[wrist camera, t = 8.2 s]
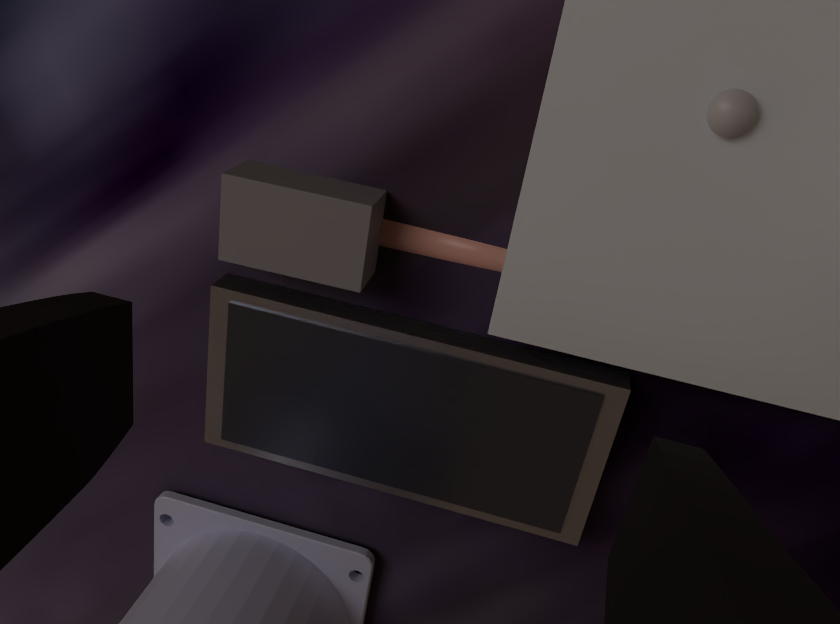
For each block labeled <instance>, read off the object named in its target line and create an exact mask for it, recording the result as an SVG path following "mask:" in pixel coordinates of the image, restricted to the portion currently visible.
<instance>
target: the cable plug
mask: <svg viewBox="0 0 840 624" xmlns="http://www.w3.org/2000/svg"><path fill="white" fill-rule="evenodd" d="M386 194H387V190H382V189H378V188H373V187H369V186H364V185H360V184H355V183H351V182H346V181H342V180H337V179H333V178H328V177H324V176H319V175H315V174H310V173H306V172H301V171H297V170H292V169H288V168H283V167H279V166H274V165H270V164H265V163H261V162H256V161H252V160H248V161H246V162H244V163H242V164H240V165H238V166H236V167H234V168H232V169H229V170H227V171H225V172H223V173H222V183H221V206H220V230H219V253H218V260H222V261H226V262H230V263H235V264H239V265H243V266H248V267H252V268H256V269H260V270H265V271H269V272H273V273H278V274H282V275H286V276H290V277H295V278H299V279H303V280H308V281H312V282H316V283H320V284H325V285H329V286H333V287H338V288H342V289H346V290H350V291H355V292H359V293H360V292H361V291H362V289H363V288H364V287H365V285H366V284H367V282H368V281H369V280H370V278H371V277H372V275H373V274H374V273H375V269H376V263H377V256H378V249H379V246H383V247H387V248H392V249H397V250H401V251H406V252H411V253H415V254H420V255H425V256H429V257H434V258H438V259H443V260H448V261H452V262H457V263H462V264H466V265H471V266H476V267H481V268H485V269H490V270H495V271H500V272H502V270H503V266H504V262H505V257H506V253H507V249H504V248H500V247H496V246H492V245H488V244H484V243H480V242H476V241H472V240H468V239H464V238H460V237H456V236H452V235H448V234H444V233H439V232H435V231H431V230H427V229H423V228H419V227H415V226H411V225H407V224H403V223H399V222H395V221H391V220H387V219H383V215H384V208H385V201H386Z"/></svg>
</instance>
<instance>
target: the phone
mask: <svg viewBox="0 0 840 624" xmlns="http://www.w3.org/2000/svg"><path fill="white" fill-rule="evenodd" d="M630 391H631V387H630V378H629V373H628V372H624V371H620V370H616V369H612V368H608V367H604V366H600V365H596V364H592V363H588V362H584V361H580V360H575V359H571V358H567V357H563V356H559V355H555V354H551V353H547V352H543V351H539V350H535V349H531V348H527V347H523V346H519V345H515V344H511V343H507V342H503V341H499V340H495V339H490V338H486V337H482V336H478V335H474V334H470V333H466V332H462V331H458V330H454V329H450V328H446V327H442V326H438V325H434V324H430V323H426V322H422V321H418V320H414V319H409V318H405V317H401V316H397V315H393V314H389V313H385V312H381V311H377V310H373V309H369V308H365V307H361V306H357V305H353V304H349V303H345V302H341V301H337V300H333V299H329V298H324V297H320V296H316V295H312V294H308V293H304V292H300V291H296V290H292V289H288V288H284V287H280V286H276V285H272V284H268V283H264V282H260V281H256V280H252V279H248V278H244V277H239V276H235V275H231V274H226V275H224V276H223V277H222V278H220V279H219V280H218V281H216V282H215V283H214V284H212V285H211V299H210V323H209V347H208V371H207V395H206V418H205V442H208V443H211V444H215V445H219V446H222V447H226V448H229V449H233V450H236V451H240V452H244V453H247V454H251V455H254V456H258V457H261V458H265V459H269V460H272V461H276V462H279V463H283V464H286V465H290V466H294V467H297V468H301V469H304V470H308V471H311V472H315V473H319V474H322V475H326V476H329V477H333V478H336V479H340V480H344V481H347V482H351V483H354V484H358V485H361V486H365V487H369V488H372V489H376V490H379V491H383V492H386V493H390V494H394V495H397V496H401V497H404V498H408V499H411V500H415V501H419V502H422V503H426V504H429V505H433V506H436V507H440V508H444V509H447V510H451V511H454V512H458V513H461V514H465V515H469V516H472V517H476V518H479V519H483V520H486V521H490V522H494V523H497V524H501V525H504V526H508V527H511V528H515V529H519V530H522V531H526V532H529V533H533V534H536V535H540V536H544V537H547V538H551V539H554V540H558V541H561V542H565V543H569V544H572V545H576V546H578V543H579V540H580V537H581V534H582V531H583V528H584V525H585V522H586V520H587V517H588V514H589V511H590V508H591V505H592V502H593V499H594V496H595V493H596V490H597V488H598V485H599V482H600V479H601V476H602V473H603V470H604V467H605V464H606V461H607V458H608V455H609V453H610V450H611V447H612V444H613V441H614V438H615V435H616V432H617V429H618V426H619V423H620V421H621V418H622V415H623V412H624V409H625V406H626V403H627V400H628V397H629V394H630Z"/></svg>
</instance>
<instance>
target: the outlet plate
mask: <svg viewBox="0 0 840 624" xmlns="http://www.w3.org/2000/svg"><path fill="white" fill-rule="evenodd" d="M488 334H491V335H495V336H499V337H503V338H507V339H511V340H515V341H519V342H523V343H527V344H531V345H535V346H539V347H543V348H548V349H552V350H556V351H560V352H564V353H568V354H572V355H576V356H580V357H584V358H588V359H592V360H596V361H600V362H604V363H608V364H613V365H617V366H621V367H625V368H629V369H633V370H637V371H641V372H645V373H649V374H653V375H657V376H661V377H665V378H669V379H673V380H677V381H682V382H686V383H690V384H694V385H698V386H702V387H706V388H710V389H714V390H718V391H722V392H726V393H730V394H734V395H738V396H742V397H746V398H751V399H755V400H759V401H763V402H767V403H771V404H775V405H779V406H783V407H787V408H791V409H795V410H799V411H803V412H807V413H811V414H816V415H820V416H824V417H828V418H832V419H836V420H840V0H565V4H564V8H563V12H562V17H561V21H560V25H559V29H558V34H557V38H556V42H555V47H554V51H553V55H552V60H551V64H550V68H549V72H548V77H547V81H546V85H545V90H544V94H543V98H542V103H541V107H540V111H539V115H538V120H537V124H536V128H535V133H534V137H533V141H532V146H531V150H530V154H529V158H528V163H527V167H526V171H525V176H524V180H523V184H522V189H521V193H520V197H519V202H518V206H517V210H516V214H515V219H514V223H513V227H512V232H511V236H510V240H509V245H508V249H507V253H506V257H505V262H504V266H503V270H502V275H501V279H500V283H499V288H498V292H497V296H496V300H495V305H494V309H493V313H492V318H491V322H490V326H489V331H488Z"/></svg>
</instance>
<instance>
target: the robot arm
mask: <svg viewBox="0 0 840 624" xmlns="http://www.w3.org/2000/svg"><path fill="white" fill-rule="evenodd" d="M132 425H133V350H132V302H130V301H126V300H122V299H118V298H114V297H110V296H106V295H102V294H99V293H95V292H86V293H76V294H68V295H62V296H56V297H50V298H45V299H39V300H34V301H29V302H24V303H19V304H14V305H10V306H5V307H0V570H1V569H2V568H3V567H4V566H5V565H6V564H7V563H8V562H9V561H10V560H11V559H12V558H14V557H15V556H16V555H17V554H18V553H19V552H20V551H21V550H22V549H23V548H24V547H25V546H26V545H27V544H28V543H29V542H30V541H31V540H32V539H33V538H34V537H35V536H36V535H37V534H38V533H39V532H40V531H41V530H42V529H43V528H44V527H45V526H46V525H47V524H48V523H49V522H50V521H51V520H52V519H53V518H54V517H55V516H56V515H57V514H58V513H59V512H60V511H61V510H62V509H63V508H64V507H65V506H66V505H67V504H68V503H69V502H70V501H71V500H72V499H73V498H74V497H75V496H76V495H77V494H78V493H79V492H80V491H81V490H82V489H83V488H84V487H85V486H86V485H87V484H88V482H89V481H90V480H91V479H92V478H93V477H94V476H95V474H96V473H97V472H98V470H99V469H100V468H101V467H102V465H103V464H104V463H105V462H106V460H107V459H108V458H109V457H110V455H111V454H112V453H113V451H114V450H115V449H116V447H117V446H118V444H119V443H120V442H121V440H122V439H123V438H124V436H125V435H126V433H127V432H128V431H129V429H130V428H131V427H132ZM168 515H169V516H171V518H170V517H169V516H168ZM374 565H375V558H374V556H373V554H372V553H371V552H370V551H369V550H368V549H366V548H363V547H360V546H357V545H353V544H350V543H347V542H343V541H340V540H336V539H333V538H329V537H326V536H323V535H319V534H316V533H312V532H309V531H305V530H302V529H298V528H295V527H292V526H288V525H285V524H281V523H278V522H274V521H271V520H268V519H264V518H261V517H257V516H254V515H250V514H247V513H244V512H240V511H237V510H233V509H230V508H226V507H223V506H220V505H216V504H213V503H209V502H206V501H202V500H199V499H196V498H192V497H189V496H185V495H182V494H178V493H175V492H171V491H166V492H163V493H162V494H161V495H160V496H159V497H158V498H157V499H156V500H155V504H154V578H153V579H152V581H151V582H150V583H149V585H148V586H147V587H146V589H145V590H144V591H143V593H142V594H141V595H140V597H139V598H138V599H137V601H136V602H135V603H134V605H133V606H132V607H131V609H130V610H129V611H128V612H127V614H126V615H125V616H124V618H123V619H122V620H121V622H120V623H119V624H364V619H365V614H366V609H367V603H368V598H369V592H370V587H371V581H372V576H373V571H374ZM354 570H356V571H359V572H361V573H362V574H358V573H356V572H355V571H354ZM605 624H840V611H839V609H838V608H837V607H836V606H835V605H834V604H833V603H832V602H831V601H830V600H829V598H828V597H827V596H826V595H825V594H824V593H823V592H822V591H821V589H820V588H819V587H818V586H817V585H816V584H815V583H814V581H813V580H812V579H811V578H810V577H809V576H808V575H807V573H806V572H805V571H804V570H803V569H802V568H801V566H800V565H799V564H798V563H797V562H796V561H795V559H794V558H793V557H792V556H791V555H790V553H789V552H788V551H787V550H786V549H785V548H784V546H783V545H782V544H781V543H780V542H779V540H778V539H777V538H776V537H775V536H774V534H773V533H772V532H771V531H770V529H769V528H768V527H767V526H766V525H765V523H764V522H763V521H762V520H761V518H760V517H759V516H758V515H757V513H756V512H755V511H754V510H753V509H752V507H751V506H750V505H749V504H748V502H747V501H746V500H745V499H744V497H743V496H742V495H741V494H740V492H739V491H738V490H737V489H736V487H735V486H734V485H733V484H732V482H731V481H730V480H729V479H728V478H727V476H726V475H725V474H724V473H723V471H722V470H721V469H720V468H719V467H718V465H717V464H716V463H715V462H714V461H713V460H712V458H711V457H710V456H709V455H708V454H707V453H706V452H705V451H704V450H703V449H702V448H698V447H694V446H690V445H686V444H682V443H678V442H674V441H670V440H667V439H663V438H659V437H655V436H653V439H652V441H651V444H650V447H649V449H648V452H647V455H646V458H645V460H644V463H643V466H642V468H641V471H640V474H639V476H638V479H637V482H636V484H635V487H634V490H633V492H632V495H631V498H630V501H629V503H628V506H627V509H626V511H625V514H624V517H623V519H622V522H621V525H620V527H619V530H618V533H617V536H616V538H615V541H614V544H613V546H612V549H611V552H610V554H609V557H608V571H607V587H606V606H605Z"/></svg>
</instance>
